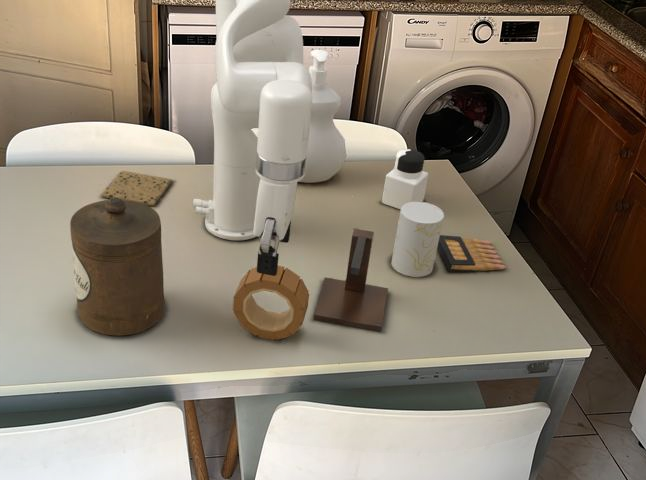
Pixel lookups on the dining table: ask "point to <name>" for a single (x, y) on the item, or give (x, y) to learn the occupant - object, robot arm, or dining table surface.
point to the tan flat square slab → (137, 188)
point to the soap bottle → (323, 126)
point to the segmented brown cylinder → (265, 321)
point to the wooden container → (118, 266)
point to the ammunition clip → (468, 254)
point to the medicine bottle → (405, 180)
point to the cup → (417, 238)
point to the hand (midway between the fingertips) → (273, 256)
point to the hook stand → (353, 291)
